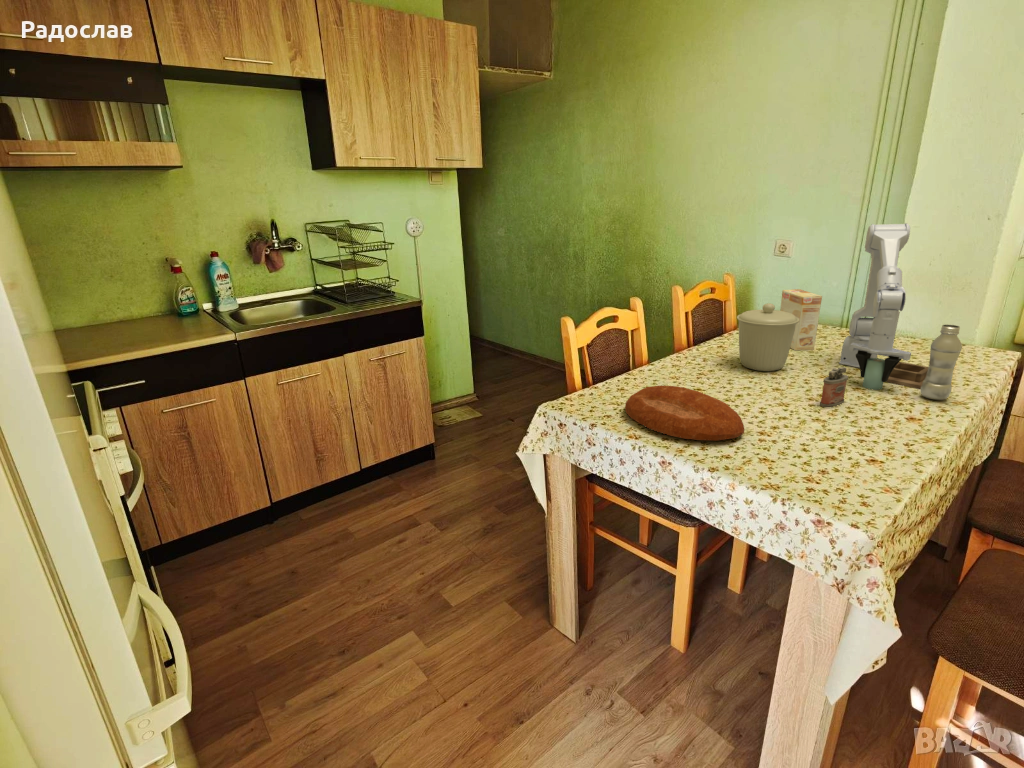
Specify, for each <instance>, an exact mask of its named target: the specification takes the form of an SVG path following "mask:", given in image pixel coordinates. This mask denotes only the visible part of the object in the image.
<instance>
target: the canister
mask: <svg viewBox="0 0 1024 768" xmlns="http://www.w3.org/2000/svg"><path fill="white" fill-rule="evenodd" d="M736 319H737V320H738V351H739V354H738V355H739V360H740V363H741V365H742V366H744V367H745V368H747V369H750V370H752V371H759V372H772V371H779V370H780V369H782V368H783V367H785V365H786V363H787V359H788V357H789V353H790V349H791V348H790V346H791V343H792V339H793V335H794V331H795V327H796V323H798V322H799V318H797V317H795V316H794V315H793V314H791V313H788V312H784V311H780V310H778V309H777V310H776V307H775V305H774V304H773V303H769V302H768V303H765V304H763V305H762V309H751V310H747V311H744V312H742V313H740V314H738V315H736Z"/></svg>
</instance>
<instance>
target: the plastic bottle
mask: <svg viewBox="0 0 1024 768" xmlns="http://www.w3.org/2000/svg"><path fill="white" fill-rule="evenodd" d="M960 329H961V327H960V326H959V325H956V324H942V325H941V329H940V331H939V332H940V335H938V336H937V337H935V338H934V339H933V341H932V342H931V344H930V351H929V352H930V353H929V360H928V366H927V367H928V370H927V373H926V376H925V379H924V381H923V383H922V385H921V389H920V394H921V396H922V397H924V398H926V399H930V400H935V401H944V400H947V399H948V398H949V397H950V395H951V393H952V381H953V375H954V371H955V367H956V364H957V361H958V358H959V356H960V354H961V351H962V350H963V345H962V342H961V340H960V338H959V337H958V335H960Z"/></svg>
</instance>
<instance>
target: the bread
mask: <svg viewBox="0 0 1024 768" xmlns="http://www.w3.org/2000/svg"><path fill="white" fill-rule="evenodd" d="M624 408H625V413H626V414H627V415H628V416H629V417H630V418H631V419H632V420H634V421H635V422H637V423H638V424H640V425H642V426H643V425H644V426H643V427H645V426H646V427H647V428H646V427H645V428H646V429H648V428H649V430H650V429H652V430H651V431H653V430H654V432H656V431H657V432H656V433H659V432H660V433H659V434H662V433H663V434H662V435H665V434H667V436H669V437H670V436H671V437H674V438H680V439H685V440H697V441H711V442H712V441H713V442H715V441H716V442H718V441H724V440H731V439H732V440H733V439H736V438H738V437H741V436H742V435H743V434H745V425H744V422H743V420H742V418H741V416H740V415H739V414H738V412H737V411H735V410H734V409H733V408H732V407H731V406H729V405H728V404H727V403H726V402H725V401H722V400H721V399H719V398H715V397H713V396H712V395H709V394H705V393H703V392H701V391H699V390H698V391H697V390H694V389H691V388H688V387H682V386H676V385H653V386H647V387H646V386H645V387H644V388H641V389H640V390H638V391H636V392H635V393H634V394H631V395H630V396H629V398H628V399H627V400H626V402H625V404H624Z"/></svg>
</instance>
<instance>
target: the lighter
mask: <svg viewBox="0 0 1024 768" xmlns="http://www.w3.org/2000/svg"><path fill="white" fill-rule="evenodd" d="M847 369H848V368H847V366H846V367H845V366H841V367H838V368H835V367H834V368H832V369H831V370H829V371H828V376H826V377H824V378H823V387H822V393H821V398H820V399H821V400H820V401H819V407H821V406H822V407H821V408H824V407H831V408H834V407H833V406H835V407H838V406H837V405H839V406H841V405H843V404H844V403H845V399H844V398H845V394H846V386H847V382H848V380H849V375H847V374H844V373H847ZM842 403H843V404H842ZM840 404H841V405H840Z"/></svg>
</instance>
